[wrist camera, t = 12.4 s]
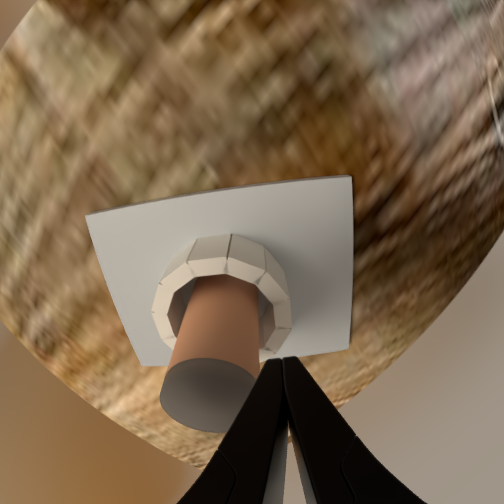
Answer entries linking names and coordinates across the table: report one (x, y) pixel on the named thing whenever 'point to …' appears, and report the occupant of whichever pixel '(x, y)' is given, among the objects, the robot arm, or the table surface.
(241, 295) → the plug
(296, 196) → the plate with ring collar
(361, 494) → the robot arm
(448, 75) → the table surface
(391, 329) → the table surface
